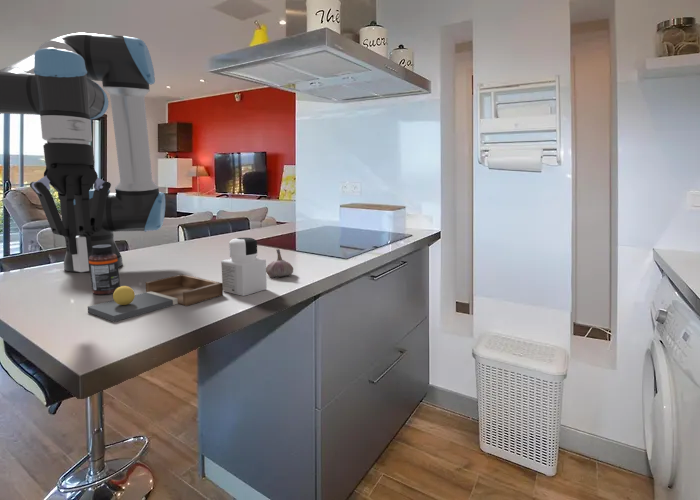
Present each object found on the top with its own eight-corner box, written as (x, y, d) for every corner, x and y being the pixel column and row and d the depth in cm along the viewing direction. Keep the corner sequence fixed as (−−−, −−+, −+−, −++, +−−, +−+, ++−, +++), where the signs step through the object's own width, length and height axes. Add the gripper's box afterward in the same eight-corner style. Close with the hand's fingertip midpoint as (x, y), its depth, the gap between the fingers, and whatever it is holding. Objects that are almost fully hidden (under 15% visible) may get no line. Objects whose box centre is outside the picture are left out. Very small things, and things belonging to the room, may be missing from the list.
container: (246, 284, 110) (244, 235, 107) (267, 289, 105) (266, 238, 103) (221, 291, 103) (219, 238, 101) (243, 296, 99) (241, 242, 97)
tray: (146, 294, 100) (145, 282, 99) (183, 285, 108) (182, 274, 107) (186, 306, 92) (185, 292, 91) (222, 295, 100) (222, 283, 99)
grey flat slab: (88, 312, 87) (87, 306, 87) (151, 296, 99) (150, 291, 98) (114, 321, 82) (113, 315, 82) (177, 303, 93) (177, 298, 93)
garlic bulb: (264, 279, 115) (263, 250, 114) (267, 273, 123) (267, 246, 121) (292, 279, 116) (292, 250, 114) (294, 273, 123) (293, 246, 122)
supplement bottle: (99, 288, 104) (95, 243, 102) (124, 288, 105) (120, 243, 103) (87, 295, 99) (82, 247, 97) (113, 295, 99) (109, 247, 97)
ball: (110, 305, 88) (108, 286, 87) (128, 300, 91) (127, 282, 90) (120, 309, 86) (118, 290, 85) (139, 304, 89) (137, 285, 88)
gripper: (35, 139, 69) (51, 280, 73) (115, 144, 80) (126, 267, 84) (16, 141, 73) (32, 274, 77) (95, 146, 84) (106, 262, 88)
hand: (81, 270), depth 80 cm, fingers closed
